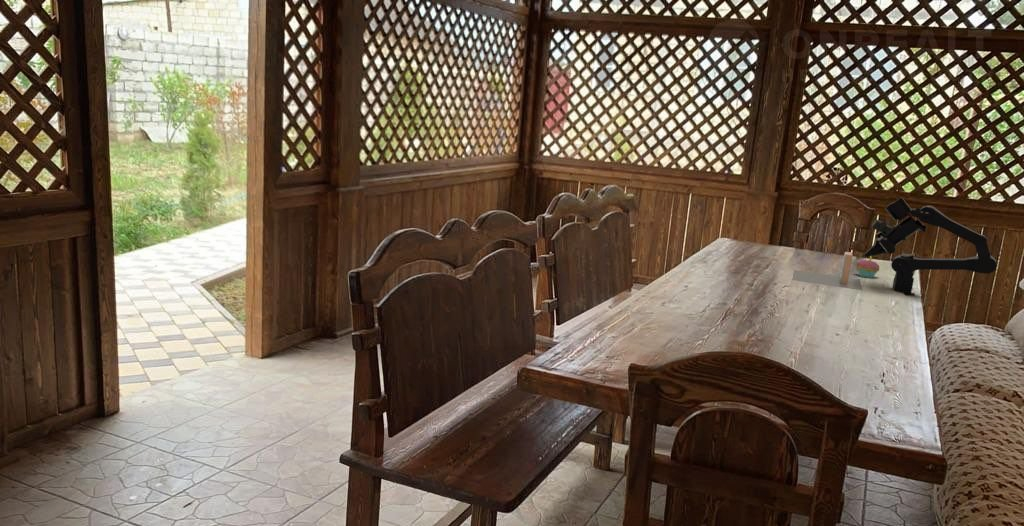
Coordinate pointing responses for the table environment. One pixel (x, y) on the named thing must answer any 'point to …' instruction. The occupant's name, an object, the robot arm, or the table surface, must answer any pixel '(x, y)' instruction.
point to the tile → (846, 267)
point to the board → (825, 279)
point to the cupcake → (867, 268)
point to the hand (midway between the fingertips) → (864, 256)
